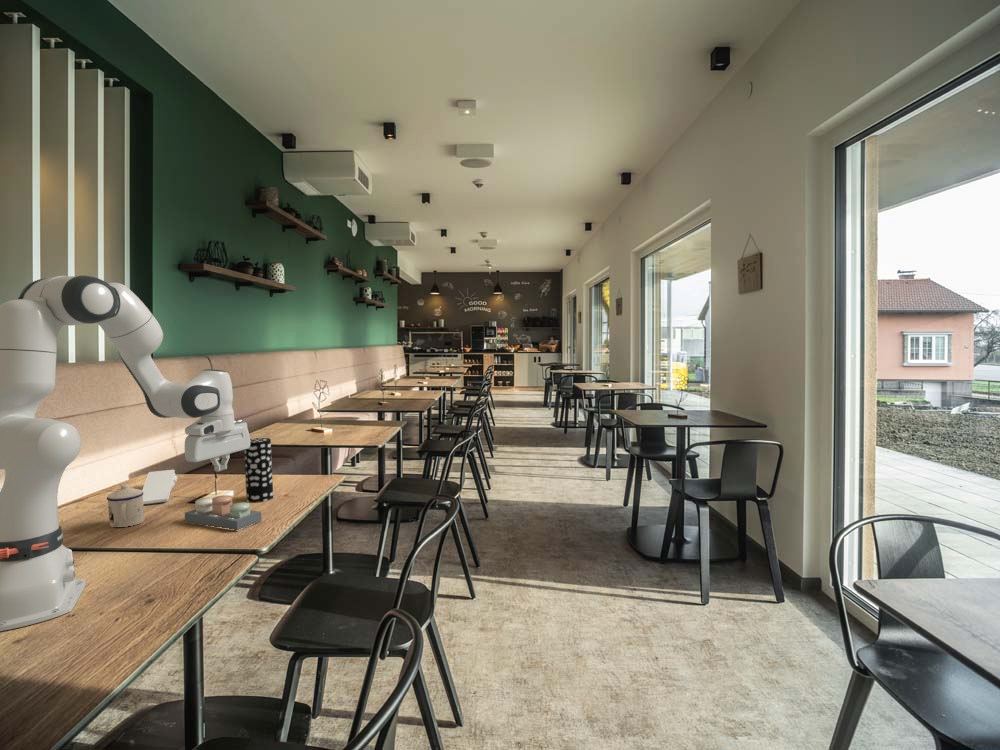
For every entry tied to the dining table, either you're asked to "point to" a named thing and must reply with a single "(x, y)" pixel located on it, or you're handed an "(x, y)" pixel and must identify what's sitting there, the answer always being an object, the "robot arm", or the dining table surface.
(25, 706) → the dining table surface
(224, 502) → the pink dome knob
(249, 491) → the spotted tube
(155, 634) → the dining table surface
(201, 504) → the button one dot
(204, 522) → the button panel
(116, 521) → the teacup with lid
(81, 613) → the dining table surface
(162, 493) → the wall bracket
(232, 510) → the button two dots
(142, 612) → the dining table surface
